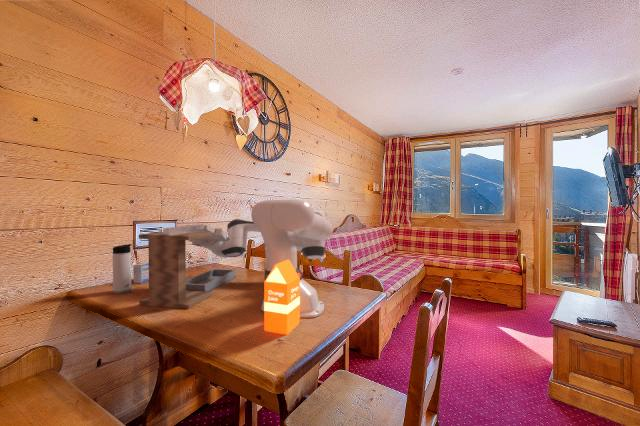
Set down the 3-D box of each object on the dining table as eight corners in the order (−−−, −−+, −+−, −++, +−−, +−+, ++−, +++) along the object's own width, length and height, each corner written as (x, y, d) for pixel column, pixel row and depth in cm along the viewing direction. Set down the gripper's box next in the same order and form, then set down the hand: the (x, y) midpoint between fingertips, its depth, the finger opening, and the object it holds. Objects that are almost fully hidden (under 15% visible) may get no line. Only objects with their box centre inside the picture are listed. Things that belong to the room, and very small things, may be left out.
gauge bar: (203, 229, 123) (203, 224, 123) (169, 234, 101) (169, 228, 101) (198, 229, 123) (198, 224, 123) (163, 234, 102) (163, 228, 102)
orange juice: (300, 322, 88) (300, 259, 87) (287, 335, 80) (287, 265, 79) (278, 319, 90) (278, 258, 90) (263, 330, 82) (263, 263, 82)
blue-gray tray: (235, 277, 143) (235, 270, 143) (205, 294, 115) (205, 285, 115) (213, 276, 145) (213, 268, 145) (177, 292, 118) (177, 283, 117)
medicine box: (141, 283, 131) (141, 265, 130) (133, 283, 131) (133, 264, 131) (154, 279, 138) (154, 261, 138) (146, 278, 139) (146, 261, 139)
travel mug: (132, 292, 118) (131, 244, 117) (112, 294, 114) (112, 246, 114) (132, 288, 123) (131, 243, 122) (113, 290, 119) (112, 244, 119)
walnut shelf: (212, 295, 114) (211, 232, 113) (188, 308, 99) (188, 235, 98) (168, 292, 117) (167, 231, 116) (139, 305, 102) (138, 234, 102)
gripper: (230, 246, 128) (216, 233, 116) (190, 245, 132) (172, 232, 120) (233, 233, 131) (220, 220, 119) (194, 232, 135) (177, 219, 123)
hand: (196, 226), depth 119 cm, fingers open, 7 cm apart
